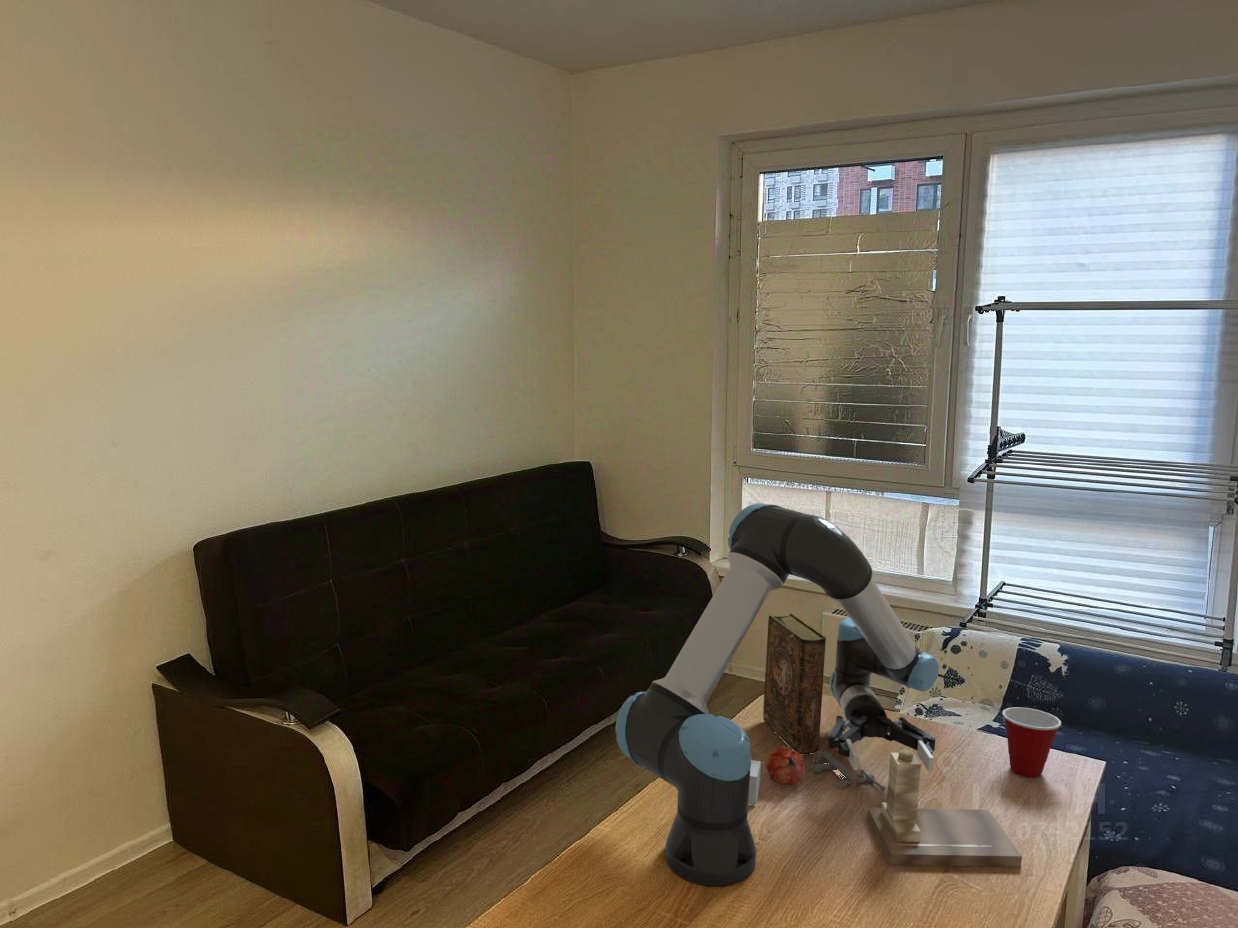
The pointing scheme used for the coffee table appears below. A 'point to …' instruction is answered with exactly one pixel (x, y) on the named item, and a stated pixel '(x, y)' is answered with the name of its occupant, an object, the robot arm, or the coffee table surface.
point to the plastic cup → (1029, 739)
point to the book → (794, 682)
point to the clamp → (834, 765)
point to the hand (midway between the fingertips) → (893, 763)
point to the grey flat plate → (949, 840)
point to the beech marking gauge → (903, 796)
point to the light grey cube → (754, 782)
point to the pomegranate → (785, 766)
